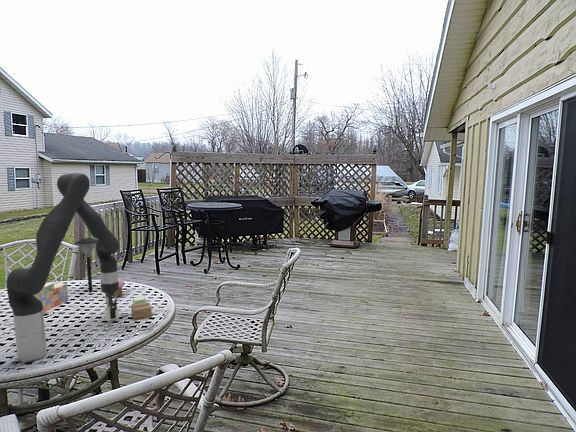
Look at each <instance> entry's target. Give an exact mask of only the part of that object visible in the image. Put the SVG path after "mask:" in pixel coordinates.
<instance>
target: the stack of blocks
mask: <svg viewBox="0 0 576 432" xmlns="http://www.w3.org/2000/svg"><path fill="white" fill-rule="evenodd" d="M34 296H35V297H36V298H37V299H38V300H40V301H41V302H42V304H43V313H45V312H47V311H49V310H52V309H54V308H55V307H57V306H60V305H62V304H64V303H66V302H68V301H69V290H68V284H67V283H64V282H63V283H62V282H61V283H59V282H57V283H54V282H52V283H51V282H46V284H45V286H44V288H43V289H42V290H41V291H40V292H39V293H38V294H35V295H34Z"/></svg>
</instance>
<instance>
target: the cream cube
mask: <svg viewBox="0 0 576 432" xmlns="http://www.w3.org/2000/svg"><path fill="white" fill-rule="evenodd" d="M112 308H114V306H113V307H112ZM115 311H116V318H113V319H111V318H110V308H109V307H107V306H105V307H104V316H105V317H104V318H105V320H106V321H107V322H110V321H114V320H119V319H120V313H119V307H118V306H117V310H115Z"/></svg>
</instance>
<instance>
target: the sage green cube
mask: <svg viewBox="0 0 576 432" xmlns="http://www.w3.org/2000/svg"><path fill="white" fill-rule="evenodd" d="M140 303H147V298H146V297H145V296H138V297H132V305H134V304H140Z"/></svg>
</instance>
